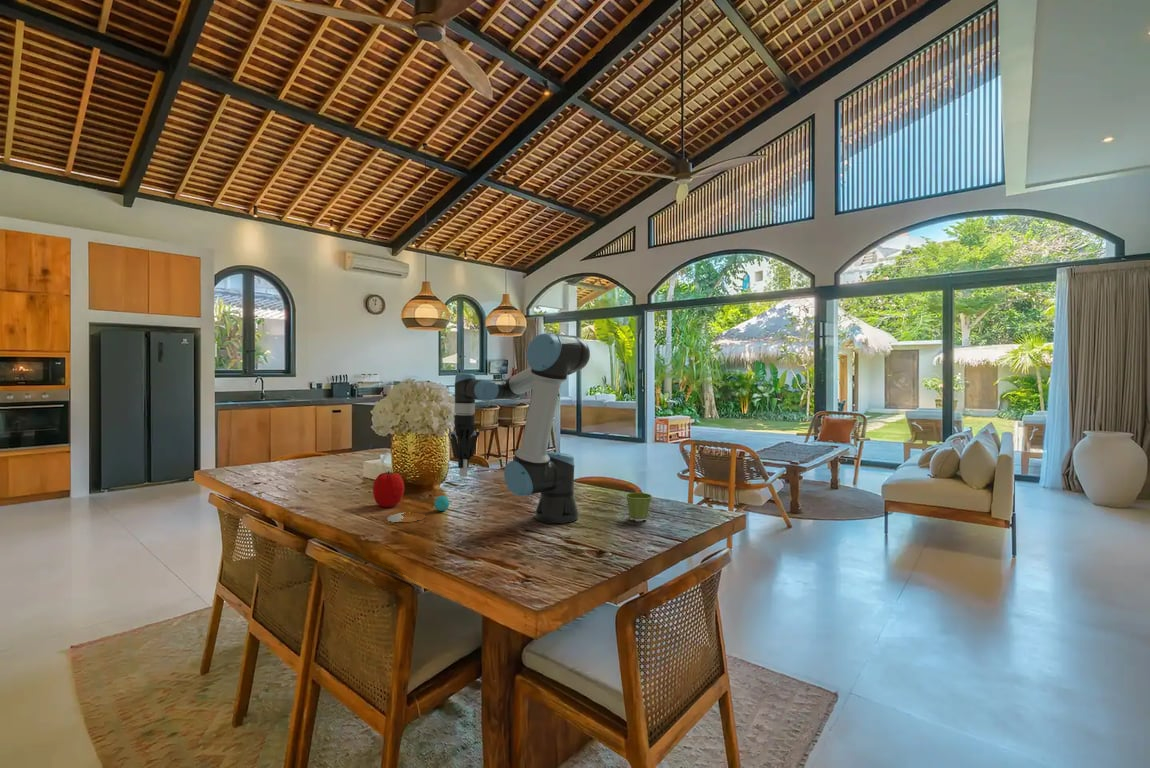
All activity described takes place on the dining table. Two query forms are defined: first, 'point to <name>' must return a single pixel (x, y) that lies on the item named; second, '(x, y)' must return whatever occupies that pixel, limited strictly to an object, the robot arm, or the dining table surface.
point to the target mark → (395, 517)
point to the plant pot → (638, 505)
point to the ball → (441, 503)
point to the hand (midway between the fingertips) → (463, 476)
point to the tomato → (388, 489)
